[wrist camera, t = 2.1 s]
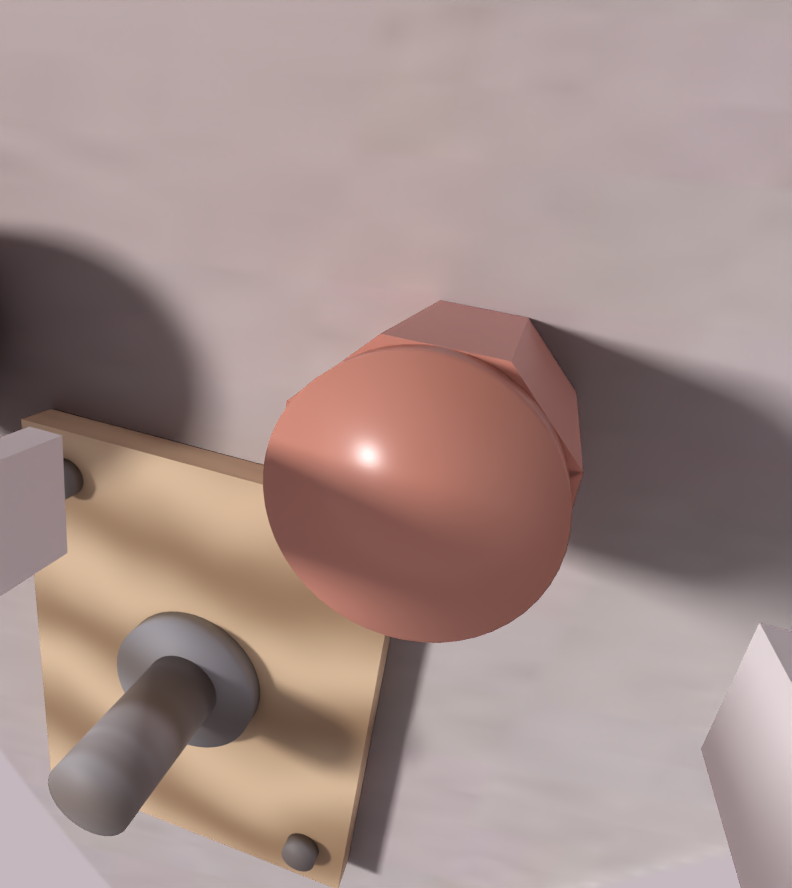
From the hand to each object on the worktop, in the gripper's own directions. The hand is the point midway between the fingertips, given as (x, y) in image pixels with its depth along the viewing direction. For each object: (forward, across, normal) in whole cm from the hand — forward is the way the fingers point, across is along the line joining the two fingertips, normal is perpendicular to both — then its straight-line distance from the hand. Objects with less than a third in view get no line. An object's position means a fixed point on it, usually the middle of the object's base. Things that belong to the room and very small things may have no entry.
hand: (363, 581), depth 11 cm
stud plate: (+11, -9, -14) cm, 19 cm away
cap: (+10, 0, 0) cm, 11 cm away
